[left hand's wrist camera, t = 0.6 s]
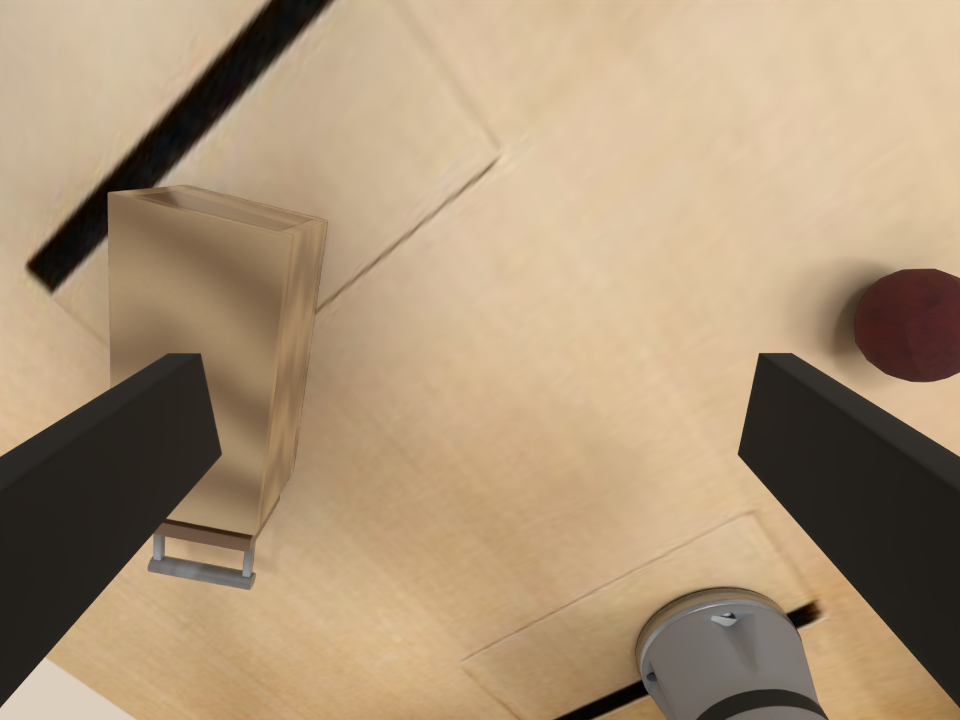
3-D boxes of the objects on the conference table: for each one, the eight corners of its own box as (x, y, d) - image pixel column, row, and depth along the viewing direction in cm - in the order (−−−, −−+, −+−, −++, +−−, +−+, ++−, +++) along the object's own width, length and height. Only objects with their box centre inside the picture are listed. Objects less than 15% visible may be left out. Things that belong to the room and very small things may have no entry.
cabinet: (293, 471, 43) (255, 536, 36) (176, 447, 43) (111, 508, 35) (328, 220, 36) (288, 236, 28) (185, 184, 35) (106, 192, 28)
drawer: (272, 555, 46) (242, 612, 40) (174, 536, 45) (129, 591, 39) (309, 271, 36) (277, 292, 31) (185, 241, 35) (129, 257, 30)
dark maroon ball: (852, 375, 40) (925, 417, 33) (813, 296, 38) (884, 325, 31) (947, 322, 38) (1043, 356, 32) (913, 236, 36) (1009, 254, 30)
